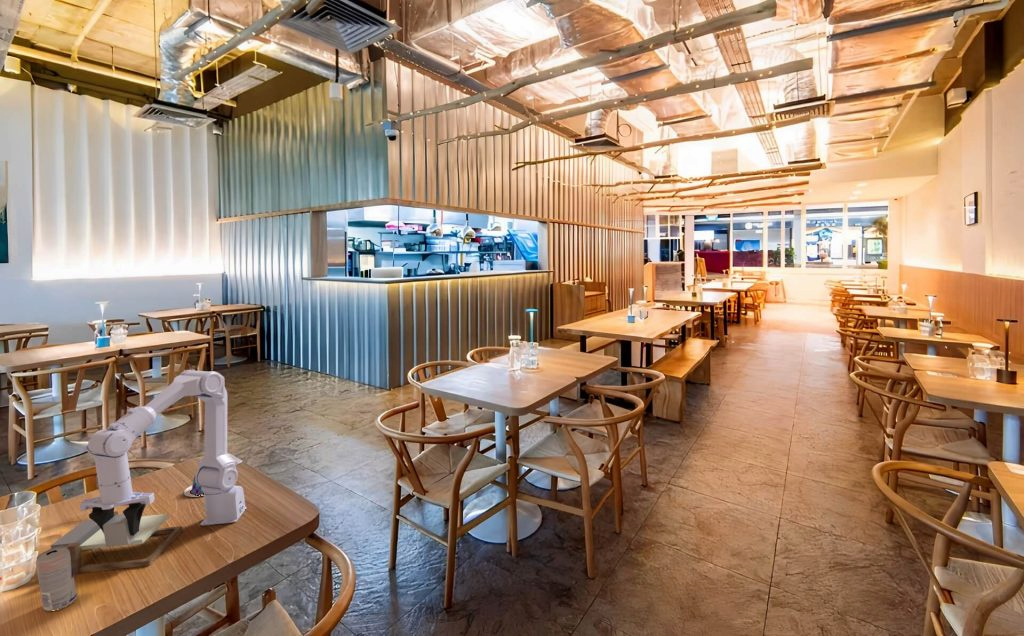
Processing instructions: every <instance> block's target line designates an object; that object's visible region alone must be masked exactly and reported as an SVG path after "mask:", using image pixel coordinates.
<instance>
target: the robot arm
mask: <svg viewBox="0 0 1024 636" xmlns="http://www.w3.org/2000/svg"><path fill="white" fill-rule="evenodd" d="M191 396H195V397H196V398H198V399H200V400H201V401H202V402H203V403H204V457H203V458H202V459H201V460H200V461H199V462H198V463H197V464H198V466H197V470H196V473H195V475H196V476H195V475H194V477H195V482H196V484H197V485H198V486H201V490H202V491H203V493H204V495H203V502H204V508H205V518H204V519H203V520H202V521H201V523H200V524H199V525H200V526H201V527H202V526H211V525H212V526H213V525H221V524H230V523H237V521H238V520H239V519H240V518H241V516H242V515H243V513H244V512H245V509H246V510H247V506H246V501H245V491H244V488H243V486H241V485H236V483H237V480H238V477H239V473H238V470H237V467H236V461H235V460H234V458H232V457H231V455H229V454H228V391H227V388H226V387H225V376H223V375H222V374H221V373H220V372H217V371H211V370H210V371H206V370H205V371H204V370H193V369H186V370H184V371H182V372H180V374H178V375H176V376H175V377H174V379H173V381H172V382H171V384H169V385H168V386H167V387H166V388H164V389H163V390H162V391H161V392H160V393H159V394H158V395H156V396H155V397H153V398H152V400H150V401H149V402H148V403H147V404H145V405H144V406H140V405H139V406H135V407H130V408H129V409H128V410H126V412H127V413H126V414H124V415H123V416H121V417H120V418H119V419H117V420H116V421H115V422H111V423H110V424H109V425H108V427H107V428H106V429H105V428H104V429H99V430H98V431H96V432H94V433H93V434H92V435H91V436H90V437H89V439H88V442H87V445H86V446H85V449H86V451H87V452H88V454H90V455H92V457H93V461H94V463H95V471H96V475H97V478H96V479H97V483H98V489H99V496H98V497H93V498H85V499H84V500H83V501H81V502H80V503H79V509H80V511H81V512H84V511H88V510H91V512H90V513H89V514H88V517H89V520H93V521H94V522H96V523H97V525H98V526H99V527H100V528H101V530H102V531H103V533H104V530H103V525H104V524H105V523H106V522H108V521H109V520H110V519H111V518H113V517H114V512H115V508H116V507H123V506H125V507H126V506H128V507H126V508H125V509H124V510H123V511H122V514H124V515H125V517H126V519H127V522H128V526H129V532H130V535H131V536H133V535H135V534H136V533H137V532H138V531H139V526H140V521H141V517H142V516H143V513H144V510H145V508H146V506H148V505H152V503H154V502H155V500H156V499H155V493H154V492H137V491H133V486H132V485H133V484H132V477H131V471H130V466H129V457H128V452H129V451H130V450H131V447H132V446H133V443H134V441H135V440H136V439H137V438H138V437H140V435H142V434H143V433H144V432H146V431H147V430H148V429H149V428H150V427H151V426H153V425H154V424H155V423H156V419H157V415H159V414H161V413H162V412H163V411H164V410H167V409H168V408H169V407H170V406H172V405H173V404H175V403H177V401H179V400H181V399H182V398H184V397H191Z"/></svg>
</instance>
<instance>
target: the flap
mask: <svg viewBox="0 0 1024 636" xmlns="http://www.w3.org/2000/svg"><path fill="white" fill-rule="evenodd" d="M169 518H170V514H169V513H163V514H162V513H161V514H153V515H144V516H143V515H142V517H141V521H140V526H139V528H140V534H139V535H138V536H137V537H136V538H135V539H134V540H133V541H132V542H131V543H130V544H128V545H127V546H131V545H141V544H144V543H145V542H146V541H147V540H148V539H149V538H150V537H151V536H153V535H152V534H153V533H154V532H155V531H156V530H157V529H158V528H161V526H162V525H163V524H164V523H165V522H166V521H167V520H168V519H169ZM78 542H79V543H80V550H81V551H83V550H93V549H102V548H107V547H106V543H105V536H104V533H103V531H102V530H101V528H100V527H99V526H98V525H97V523H96V522H94V521H93V520H92V519H86V520H82V521H81V522H80V523H78V524H77V525H76V526H75V527H73V528H72V529H71V530H69V531H68V532H67V533H65V534H63V535H62V536H60V538H58V539H57V540H56V541H55V542H53V543H52V544H50V549H52V548H56V547H61V546H65V547H66V546H67V545H68V544H70V543H78ZM122 546H124V545H121V547H122ZM112 547H114V546H112Z"/></svg>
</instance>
